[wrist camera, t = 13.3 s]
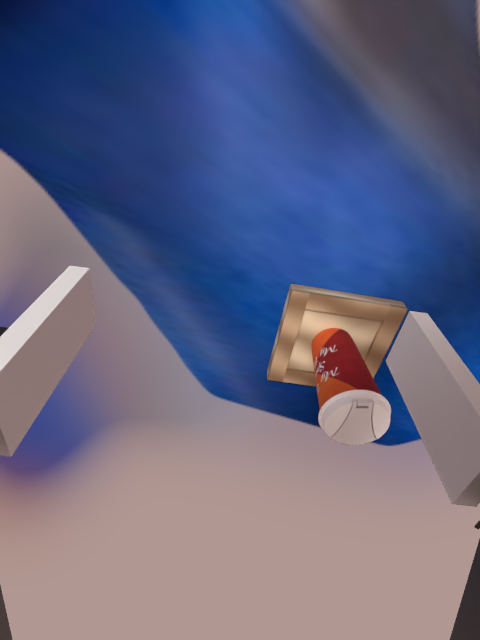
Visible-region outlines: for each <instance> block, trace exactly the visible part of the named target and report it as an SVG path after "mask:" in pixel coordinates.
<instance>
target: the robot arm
mask: <svg viewBox="0 0 480 640" xmlns="http://www.w3.org/2000/svg"><path fill="white" fill-rule="evenodd" d="M95 325H96V322H95V313H94V304H93V295H92V286H91V278H90V269H89V268H83V267H76V266H69V267H68V268H67V269H66V270H65V271H64V272H63V274H61V275H60V277H58V278H57V279H56V280H55V282H53V284H51V286H50V287H49V288H48V289H47V290H46V291H45V292H44V293H43V294H42V295H41V296H40V297H39V298H38V299H37V300H36V301H35V302H34V303H33V304H32V305H31V306H30V307H29V308H28V309H27V310H26V311H25V312H24V313H23V314H22V315H21V316H20V317H19V318H18V319H17V320H16V321H15V322H14V323H13V324H12V325H11V326H10V327H9V328H6V327H0V455H1V456H12V455H13V453H14V451H15V450H16V448H17V446H18V445H19V444H20V442H21V440H22V439H23V437H24V436H25V434H26V433H27V431H28V430H29V428H30V426H31V425H32V423H33V422H34V420H35V419H36V417H37V416H38V414H39V412H40V411H41V409H42V408H43V406H44V405H45V403H46V402H47V400H48V398H49V397H50V395H51V393H52V392H53V391H54V389H55V388H56V386H57V384H58V383H59V381H60V380H61V378H62V377H63V375H64V373H65V372H66V370H67V369H68V367H69V366H70V364H71V363H72V361H73V359H74V358H75V356H76V355H77V353H78V352H79V350H80V349H81V347H82V345H83V344H84V342H85V341H86V339H87V338H88V336H89V335H90V333H91V331H92V330H93V328H94V327H95ZM386 363H387V365H388V367H389V369H390V372H391V374H392V376H393V378H394V380H395V382H396V385H397V387H398V389H399V391H400V393H401V395H402V397H403V400H404V402H405V404H406V406H407V408H408V410H409V413H410V415H411V417H412V419H413V421H414V423H415V425H416V428H417V430H418V432H419V434H420V436H421V438H422V441H423V443H424V445H425V447H426V449H427V451H428V453H429V456H430V458H431V460H432V462H433V464H434V466H435V468H436V471H437V473H438V475H439V477H440V479H441V481H442V484H443V486H444V488H445V490H446V492H447V494H448V497H449V499H450V501H451V503H452V504H457V505H466V506H475V507H476V506H477V505H478V504H479V503H480V384H479V383H478V381H477V380H476V379H475V377H474V376H473V375H472V373H471V372H470V371H469V369H468V368H467V366H466V365H465V364H464V362H463V361H462V360H461V358H460V357H459V356H458V354H457V353H456V352H455V350H454V349H453V347H452V346H451V345H450V343H449V342H448V341H447V339H446V338H445V337H444V335H443V334H442V333H441V331H440V330H439V328H438V327H437V326H436V324H435V323H434V322H433V320H432V319H431V318H430V316H429V315H428V313H421V312H414V311H409V313H408V315H407V317H406V319H405V321H404V324H403V326H402V328H401V330H400V332H399V334H398V336H397V338H396V340H395V342H394V345H393V347H392V349H391V351H390V353H389V355H388V357H387V359H386ZM475 528H477V529H479V528H480V521H479V522H478V523H477V524H476V525H475ZM0 640H12V636H11V631H10V627H9V622H8V618H7V613H6V609H5V604H4V600H3V595H2V591H1V586H0ZM450 640H480V540H479V543H478V547H477V550H476V553H475V557H474V560H473V563H472V567H471V570H470V573H469V577H468V580H467V584H466V587H465V590H464V594H463V597H462V601H461V604H460V607H459V611H458V614H457V617H456V621H455V624H454V628H453V631H452V634H451V637H450Z"/></svg>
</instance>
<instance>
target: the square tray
mask: <svg viewBox="0 0 480 640" xmlns="http://www.w3.org/2000/svg"><path fill="white" fill-rule="evenodd" d="M407 310H408V309H407V307H406V306H405V304H404V303H403V302H402V301H397V300H391V299H384V298H378V297H372V296H365V295H359V294H353V293H346V292H340V291H334V290H327V289H321V288H315V287H308V286H302V285H296V284H290V288H289V292H288V295H287V299H286V303H285V306H284V310H283V314H282V318H281V321H280V325H279V329H278V332H277V336H276V340H275V343H274V347H273V351H272V354H271V358H270V362H269V365H268V369H267V379H268V380H273V381H280V382H287V383H295V384H302V385H309V386H316V379H315V372H314V365H313V357H312V341H313V339H314V337H315V336H316V335H317V334H318V333H320V332H321V331H323V330H325V329H329V328H340V329H343V330H345V331H346V332H348V333H349V334H350V336H351V337H352V339H353V341H354V342H355V344H356V346H357V348H358V350H359V352H360V354H361V356H362V358H363V360H364V361H365V363H366V365H367V367H368V369H369V371H370V373H371V375H372V377H373V378H374V376H375V374H376V372H377V370H378V368H379V366H380V364H381V362H382V360H383V358H384V356H385V354H386V352H387V350H388V348H389V346H390V344H391V342H392V340H393V338H394V336H395V334H396V332H397V330H398V328H399V326H400V324H401V322H402V320H403V318H404V316H405V314H406V312H407Z"/></svg>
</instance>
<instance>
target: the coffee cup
mask: <svg viewBox="0 0 480 640" xmlns="http://www.w3.org/2000/svg"><path fill="white" fill-rule="evenodd" d="M312 357H313V365H314V372H315V379H316V387H317V394H318V401H319V408H320V411H319V414H318V421H319V424H320V426H321V428H322V429H323V430H324V431H325V433H326V434H327V435H328V437H330V438H331V439H333V440H334V441H336V442H338V443H341V444H345V445H361V444H366V443H369V442H371V441H374V440H376V438H377V439H378V438H380V437H381V436H382V435H383V434H384V433H385V432H386V431H387V429H388V427H389V425H390V416H391V407H390V404H389V402H388V401H387V399H386V398H385V397H383V396H382V395H381V393H380V391H379V389H378V387H377V385H376V383H375V381H374V379H373V377H372V375H371V373H370V371H369V369H368V367H367V365H366V363H365V361H364V360H363V358H362V356H361V354H360V352H359V350H358V348H357V346H356V344H355V342H354V341H353V339H352V337H351V336H350V334H349V333H348V332H346V331H345V330H343V329H340V328H329V329H325V330H323V331H321V332H320V333H318V334H317V335H316V336H315V337H314V339H313V341H312Z"/></svg>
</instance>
